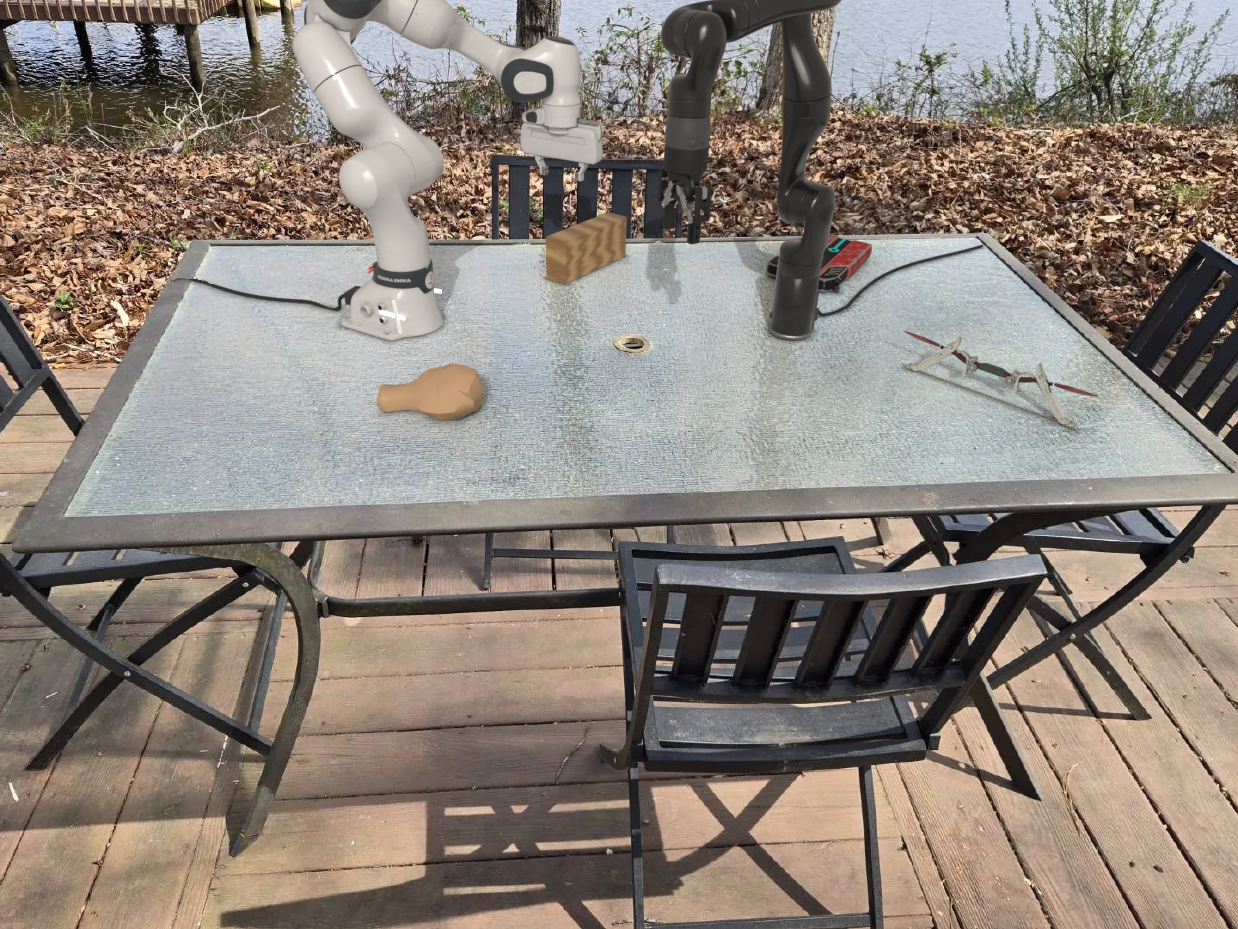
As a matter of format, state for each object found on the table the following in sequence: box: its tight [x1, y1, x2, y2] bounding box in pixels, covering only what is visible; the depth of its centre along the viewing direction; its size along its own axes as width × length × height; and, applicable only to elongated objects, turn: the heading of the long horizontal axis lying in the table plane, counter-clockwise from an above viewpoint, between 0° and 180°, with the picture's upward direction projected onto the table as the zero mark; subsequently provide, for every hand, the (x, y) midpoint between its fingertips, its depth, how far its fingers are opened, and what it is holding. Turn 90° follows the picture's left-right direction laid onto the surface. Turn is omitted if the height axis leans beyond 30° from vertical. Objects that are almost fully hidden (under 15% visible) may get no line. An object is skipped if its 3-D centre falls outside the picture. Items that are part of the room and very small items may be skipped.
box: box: [545, 212, 628, 285], centre depth 224 cm, size 25×6×11 cm, turn 143°
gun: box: [765, 233, 873, 293], centre depth 228 cm, size 4×31×19 cm
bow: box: [903, 330, 1099, 428], centre depth 171 cm, size 39×2×10 cm, turn 47°
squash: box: [376, 362, 485, 422], centre depth 161 cm, size 11×20×9 cm, turn 90°
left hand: (561, 177), depth 206 cm, fingers open, 8 cm apart
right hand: (680, 235), depth 157 cm, fingers open, 8 cm apart
